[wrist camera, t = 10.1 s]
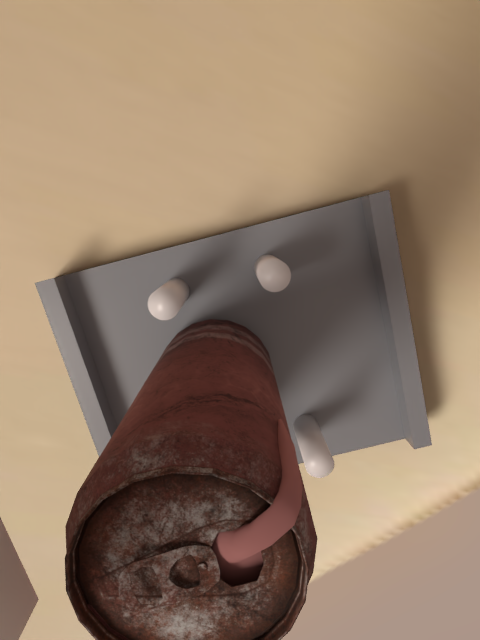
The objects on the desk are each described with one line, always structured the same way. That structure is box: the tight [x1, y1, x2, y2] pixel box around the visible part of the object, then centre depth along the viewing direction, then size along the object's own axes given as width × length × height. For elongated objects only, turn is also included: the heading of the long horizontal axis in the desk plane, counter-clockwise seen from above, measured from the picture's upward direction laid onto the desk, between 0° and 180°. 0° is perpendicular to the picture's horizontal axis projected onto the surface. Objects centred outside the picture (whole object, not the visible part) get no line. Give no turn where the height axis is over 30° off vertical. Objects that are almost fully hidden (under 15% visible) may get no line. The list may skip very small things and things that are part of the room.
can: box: [65, 319, 317, 640], centre depth 16 cm, size 6×6×14 cm
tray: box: [35, 190, 432, 478], centre depth 21 cm, size 14×18×5 cm
